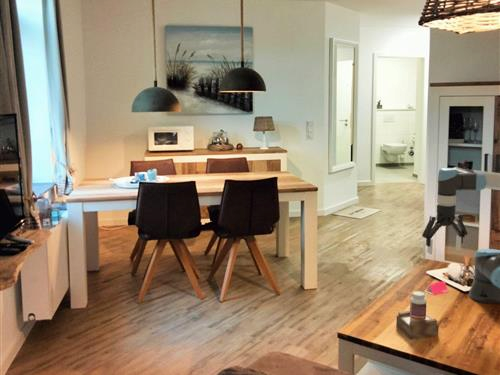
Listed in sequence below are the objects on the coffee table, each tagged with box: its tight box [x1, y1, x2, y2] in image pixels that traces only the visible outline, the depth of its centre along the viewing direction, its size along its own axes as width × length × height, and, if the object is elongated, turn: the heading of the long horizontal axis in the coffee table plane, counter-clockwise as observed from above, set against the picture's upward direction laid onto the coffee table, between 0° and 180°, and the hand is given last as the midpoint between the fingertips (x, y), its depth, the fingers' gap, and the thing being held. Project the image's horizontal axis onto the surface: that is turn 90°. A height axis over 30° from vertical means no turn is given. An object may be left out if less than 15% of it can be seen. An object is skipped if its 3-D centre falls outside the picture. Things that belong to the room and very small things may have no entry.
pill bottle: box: [409, 290, 427, 321], centre depth 217 cm, size 6×6×11 cm
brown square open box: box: [395, 310, 440, 340], centre depth 218 cm, size 12×12×6 cm
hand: (444, 252), depth 235 cm, fingers open, 13 cm apart
